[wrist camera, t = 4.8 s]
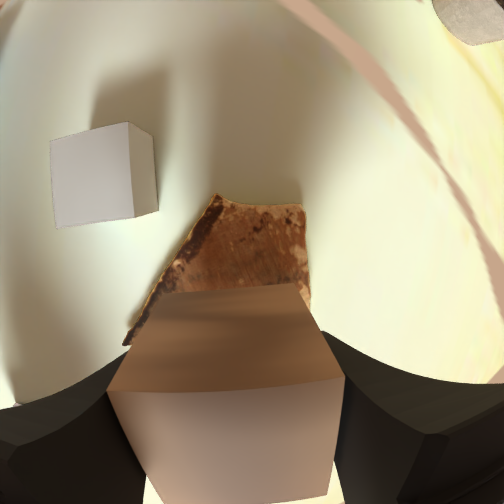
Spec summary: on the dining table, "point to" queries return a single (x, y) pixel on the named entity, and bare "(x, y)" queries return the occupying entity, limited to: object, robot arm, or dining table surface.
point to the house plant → (472, 19)
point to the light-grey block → (103, 175)
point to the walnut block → (231, 397)
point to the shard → (236, 253)
